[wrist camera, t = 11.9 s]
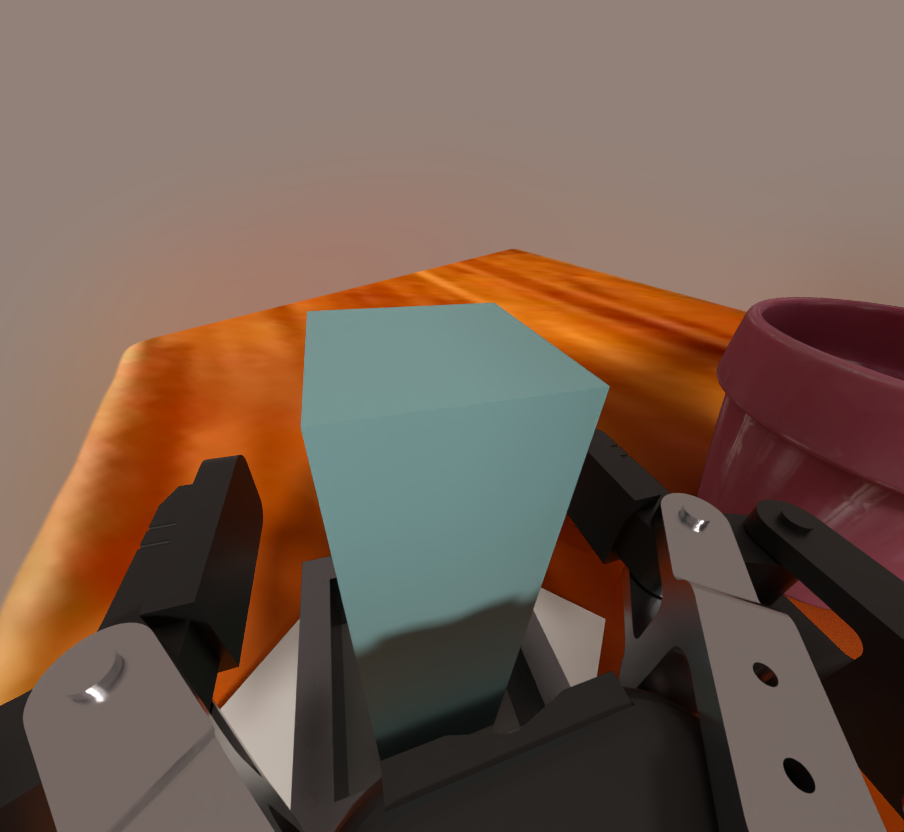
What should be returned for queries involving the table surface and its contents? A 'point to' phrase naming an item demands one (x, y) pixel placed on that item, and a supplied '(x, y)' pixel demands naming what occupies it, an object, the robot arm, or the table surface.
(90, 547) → the table surface
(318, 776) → the metal collar
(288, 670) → the base board
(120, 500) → the table surface
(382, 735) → the teal peg
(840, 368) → the plant pot
